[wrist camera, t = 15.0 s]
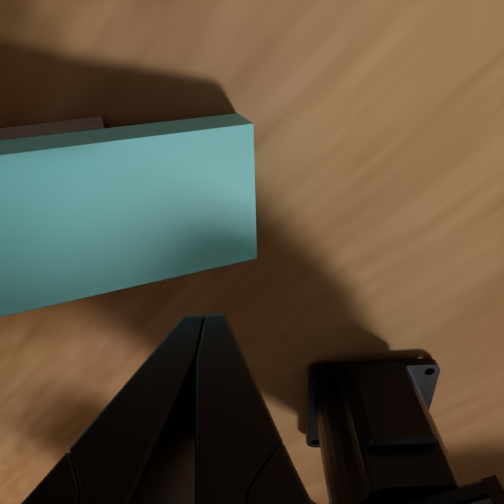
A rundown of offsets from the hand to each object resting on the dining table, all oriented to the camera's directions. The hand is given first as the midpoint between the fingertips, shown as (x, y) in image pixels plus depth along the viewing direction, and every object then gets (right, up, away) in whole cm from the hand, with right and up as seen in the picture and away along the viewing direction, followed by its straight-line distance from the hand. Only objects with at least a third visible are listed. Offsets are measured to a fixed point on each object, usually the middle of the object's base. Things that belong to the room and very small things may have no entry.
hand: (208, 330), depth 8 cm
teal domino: (+1, +4, +6) cm, 7 cm away
